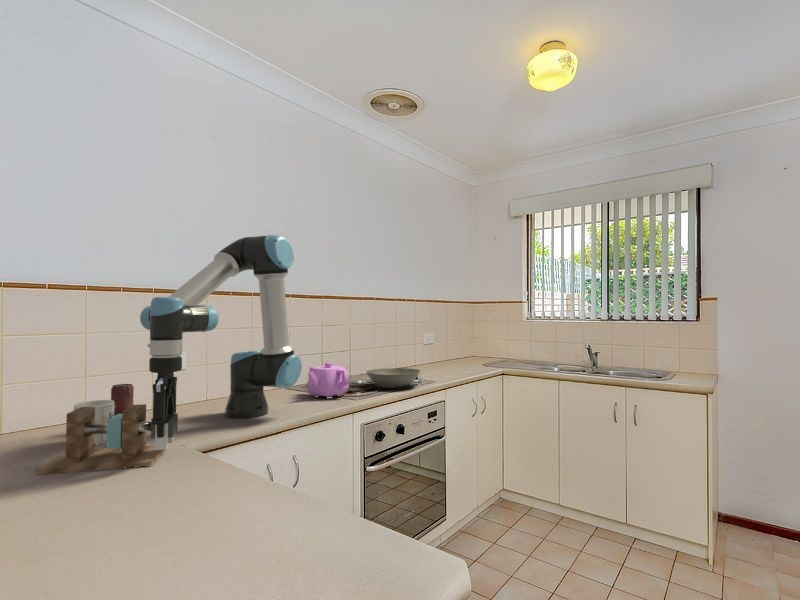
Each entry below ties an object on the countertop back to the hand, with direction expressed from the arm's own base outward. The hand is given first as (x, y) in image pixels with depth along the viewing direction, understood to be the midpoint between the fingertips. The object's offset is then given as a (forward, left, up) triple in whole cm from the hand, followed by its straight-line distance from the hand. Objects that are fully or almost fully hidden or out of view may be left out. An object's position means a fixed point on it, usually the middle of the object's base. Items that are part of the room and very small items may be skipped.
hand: (164, 446), depth 115 cm
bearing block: (+13, 0, -3) cm, 13 cm away
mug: (+24, -19, -3) cm, 31 cm away
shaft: (+8, 0, +3) cm, 8 cm away
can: (+21, -34, -3) cm, 40 cm away
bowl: (-82, -93, -3) cm, 124 cm away
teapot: (-48, -75, -3) cm, 89 cm away
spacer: (+10, 0, +1) cm, 11 cm away
